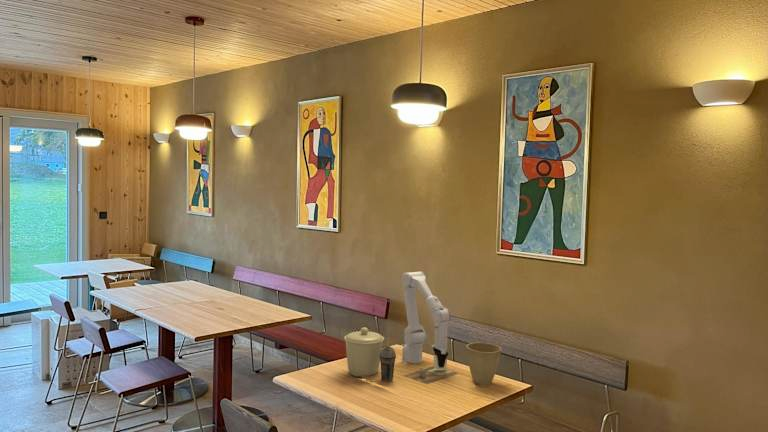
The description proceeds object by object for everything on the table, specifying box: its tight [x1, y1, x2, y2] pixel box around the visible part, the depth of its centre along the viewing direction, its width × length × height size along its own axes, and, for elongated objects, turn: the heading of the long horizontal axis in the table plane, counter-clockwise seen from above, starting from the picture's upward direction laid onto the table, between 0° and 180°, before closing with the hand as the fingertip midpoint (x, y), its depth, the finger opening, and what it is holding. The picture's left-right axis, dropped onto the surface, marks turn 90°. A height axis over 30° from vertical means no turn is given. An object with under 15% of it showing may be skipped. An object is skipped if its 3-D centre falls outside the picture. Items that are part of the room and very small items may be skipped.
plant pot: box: [466, 342, 502, 387], centre depth 242 cm, size 15×15×16 cm
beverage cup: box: [379, 336, 397, 383], centre depth 240 cm, size 7×7×20 cm
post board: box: [403, 365, 459, 385], centre depth 249 cm, size 14×22×5 cm, turn 135°
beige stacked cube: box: [433, 354, 448, 370], centre depth 253 cm, size 5×5×5 cm
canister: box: [343, 326, 385, 378], centre depth 250 cm, size 18×18×21 cm
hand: (439, 365), depth 253 cm, fingers closed on beige stacked cube, 5 cm apart
